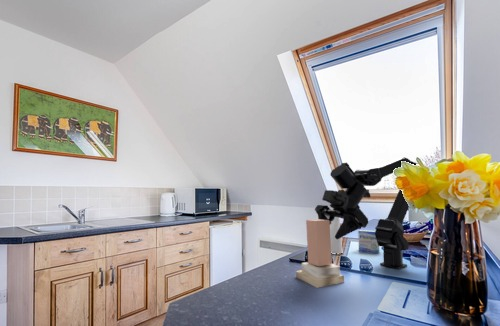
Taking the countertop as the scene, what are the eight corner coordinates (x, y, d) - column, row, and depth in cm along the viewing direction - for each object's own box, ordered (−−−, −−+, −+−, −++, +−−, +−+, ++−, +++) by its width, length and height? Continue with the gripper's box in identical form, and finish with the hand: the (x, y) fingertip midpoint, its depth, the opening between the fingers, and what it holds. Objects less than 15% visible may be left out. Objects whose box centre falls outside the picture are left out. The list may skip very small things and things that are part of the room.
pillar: (321, 261, 91) (319, 219, 92) (332, 264, 86) (329, 220, 88) (308, 263, 89) (306, 220, 90) (318, 266, 84) (315, 221, 86)
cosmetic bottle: (337, 255, 115) (336, 200, 117) (325, 252, 120) (323, 199, 122) (346, 253, 119) (344, 199, 121) (333, 250, 124) (332, 199, 125)
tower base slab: (321, 274, 93) (321, 266, 93) (344, 284, 84) (344, 275, 84) (296, 279, 89) (296, 270, 89) (316, 289, 80) (316, 280, 80)
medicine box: (358, 251, 122) (357, 230, 123) (359, 249, 126) (359, 229, 126) (378, 253, 118) (378, 232, 119) (379, 251, 122) (378, 230, 123)
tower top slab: (322, 267, 92) (322, 259, 92) (339, 275, 85) (339, 266, 85) (301, 271, 89) (301, 262, 89) (317, 279, 82) (317, 270, 82)
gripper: (318, 181, 101) (292, 215, 95) (359, 181, 84) (331, 222, 78) (336, 203, 103) (312, 237, 98) (379, 206, 87) (353, 248, 81)
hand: (325, 235), depth 89 cm, fingers open, 9 cm apart
